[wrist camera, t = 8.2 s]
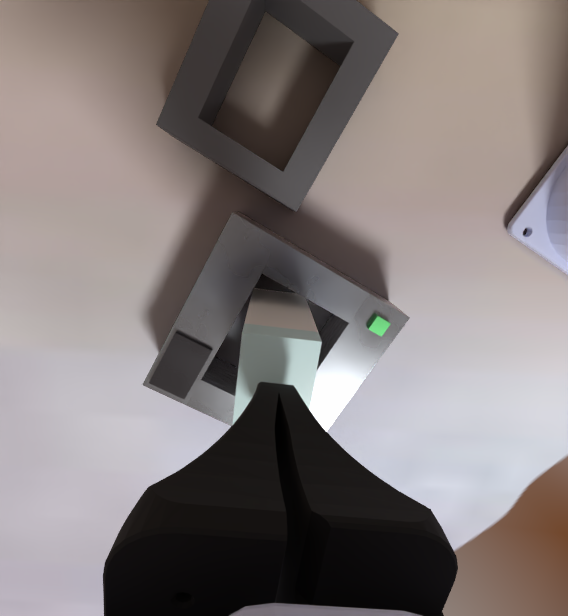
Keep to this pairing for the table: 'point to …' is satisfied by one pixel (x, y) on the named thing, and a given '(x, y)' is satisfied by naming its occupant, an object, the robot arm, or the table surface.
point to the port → (231, 298)
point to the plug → (277, 346)
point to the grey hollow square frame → (226, 60)
